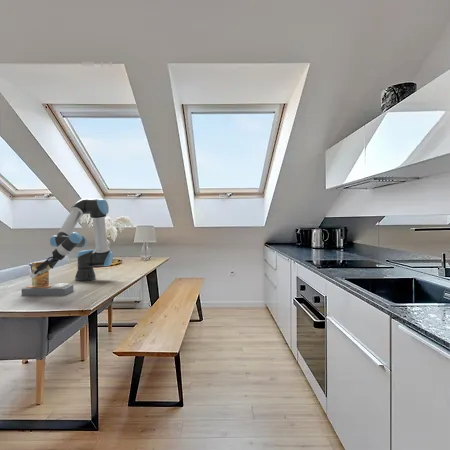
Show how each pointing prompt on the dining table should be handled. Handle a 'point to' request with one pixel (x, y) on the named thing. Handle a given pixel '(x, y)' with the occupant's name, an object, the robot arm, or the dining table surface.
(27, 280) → the dining table surface
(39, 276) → the candy box
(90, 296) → the dining table surface
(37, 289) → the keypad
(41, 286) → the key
